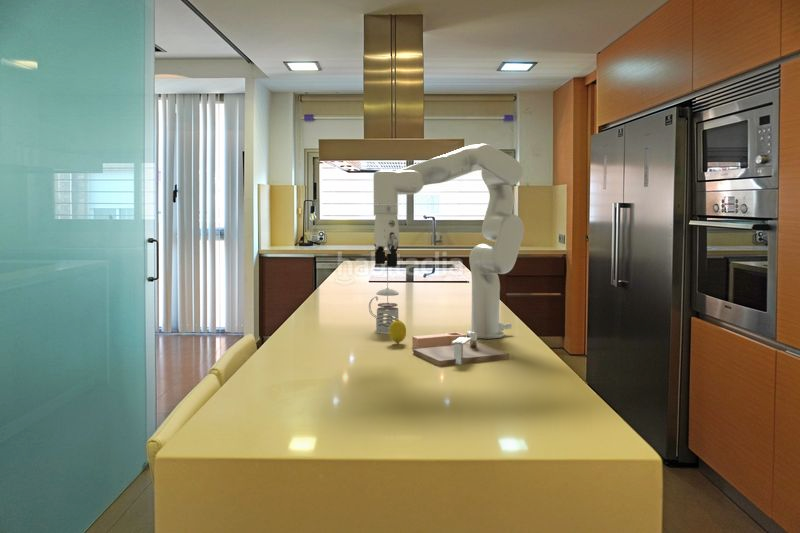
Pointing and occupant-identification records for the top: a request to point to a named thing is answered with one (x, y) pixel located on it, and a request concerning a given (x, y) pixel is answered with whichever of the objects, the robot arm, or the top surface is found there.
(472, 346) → the cylinder
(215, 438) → the top surface
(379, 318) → the french press
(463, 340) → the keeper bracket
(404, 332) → the lemon
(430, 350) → the walnut plate
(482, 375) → the top surface
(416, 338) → the link
